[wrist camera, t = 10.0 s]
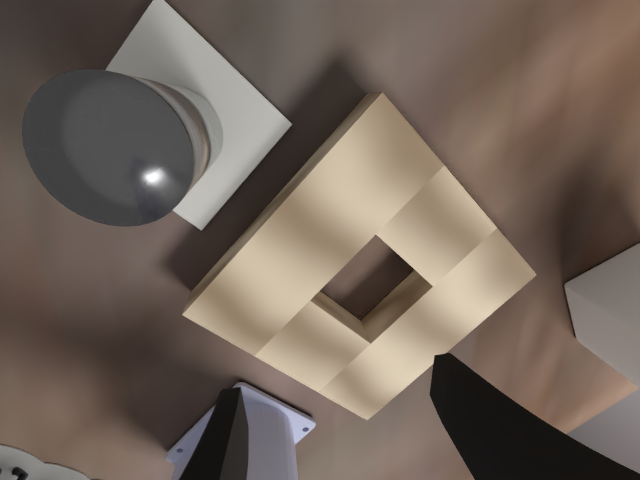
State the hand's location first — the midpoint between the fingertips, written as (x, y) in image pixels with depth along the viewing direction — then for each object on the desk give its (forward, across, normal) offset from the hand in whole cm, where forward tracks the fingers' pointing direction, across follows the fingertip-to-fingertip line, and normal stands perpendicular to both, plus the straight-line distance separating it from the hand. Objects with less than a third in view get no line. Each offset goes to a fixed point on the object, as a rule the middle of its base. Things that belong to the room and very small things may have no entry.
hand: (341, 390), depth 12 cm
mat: (+10, +6, -9) cm, 15 cm away
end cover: (+10, +6, -9) cm, 15 cm away
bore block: (+10, -4, +1) cm, 11 cm away
